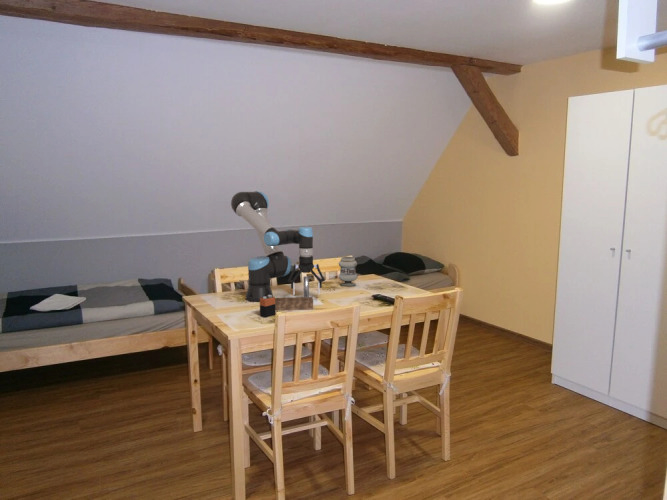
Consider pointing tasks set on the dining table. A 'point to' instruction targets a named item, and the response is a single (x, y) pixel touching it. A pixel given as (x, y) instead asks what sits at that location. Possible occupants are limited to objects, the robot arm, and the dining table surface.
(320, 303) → the dining table surface
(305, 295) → the pin
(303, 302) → the hole block
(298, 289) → the dining table surface
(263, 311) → the battery
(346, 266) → the apothecary jar
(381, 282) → the dining table surface
